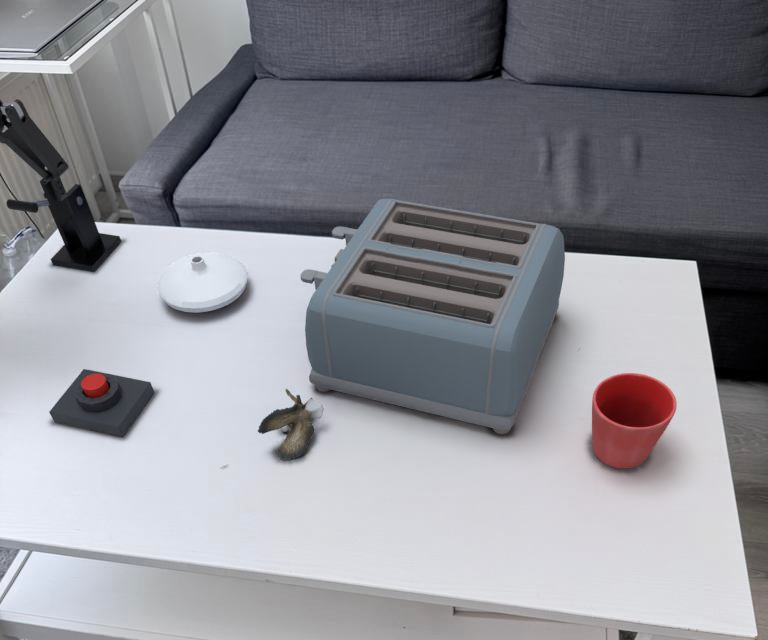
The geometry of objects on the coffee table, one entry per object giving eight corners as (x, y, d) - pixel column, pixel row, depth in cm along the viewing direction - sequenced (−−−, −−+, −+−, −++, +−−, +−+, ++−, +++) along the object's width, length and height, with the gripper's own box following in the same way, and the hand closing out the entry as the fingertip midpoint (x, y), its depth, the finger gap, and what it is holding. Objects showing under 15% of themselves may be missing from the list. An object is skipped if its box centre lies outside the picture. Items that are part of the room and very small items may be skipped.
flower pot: (567, 433, 108) (578, 383, 101) (635, 414, 110) (651, 364, 102) (602, 486, 102) (616, 437, 95) (673, 465, 104) (693, 416, 96)
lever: (33, 216, 123) (30, 200, 122) (7, 212, 124) (5, 196, 123) (83, 206, 134) (81, 192, 133) (59, 203, 135) (57, 189, 134)
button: (80, 396, 112) (76, 387, 111) (93, 380, 114) (89, 371, 113) (101, 400, 112) (97, 391, 110) (113, 384, 114) (109, 375, 112)
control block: (54, 422, 114) (43, 403, 111) (88, 379, 120) (79, 359, 117) (123, 437, 112) (114, 418, 109) (154, 392, 117) (147, 373, 114)
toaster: (361, 274, 134) (354, 181, 120) (559, 312, 125) (576, 217, 111) (288, 386, 117) (270, 294, 103) (511, 440, 108) (524, 347, 94)
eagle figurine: (274, 404, 113) (247, 438, 107) (295, 375, 108) (268, 408, 102) (314, 435, 114) (290, 470, 108) (337, 408, 109) (313, 443, 103)
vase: (151, 284, 135) (139, 250, 129) (233, 258, 139) (225, 223, 133) (177, 333, 126) (165, 298, 120) (264, 304, 130) (256, 269, 124)
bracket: (94, 271, 138) (68, 207, 128) (52, 264, 140) (23, 201, 130) (121, 241, 144) (98, 177, 133) (81, 235, 146) (55, 171, 135)
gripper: (54, 54, 95) (111, 209, 111) (-107, 42, 100) (-29, 192, 117) (20, 80, 90) (85, 237, 107) (-146, 66, 96) (-59, 218, 112)
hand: (26, 214), depth 112 cm, fingers open, 13 cm apart
